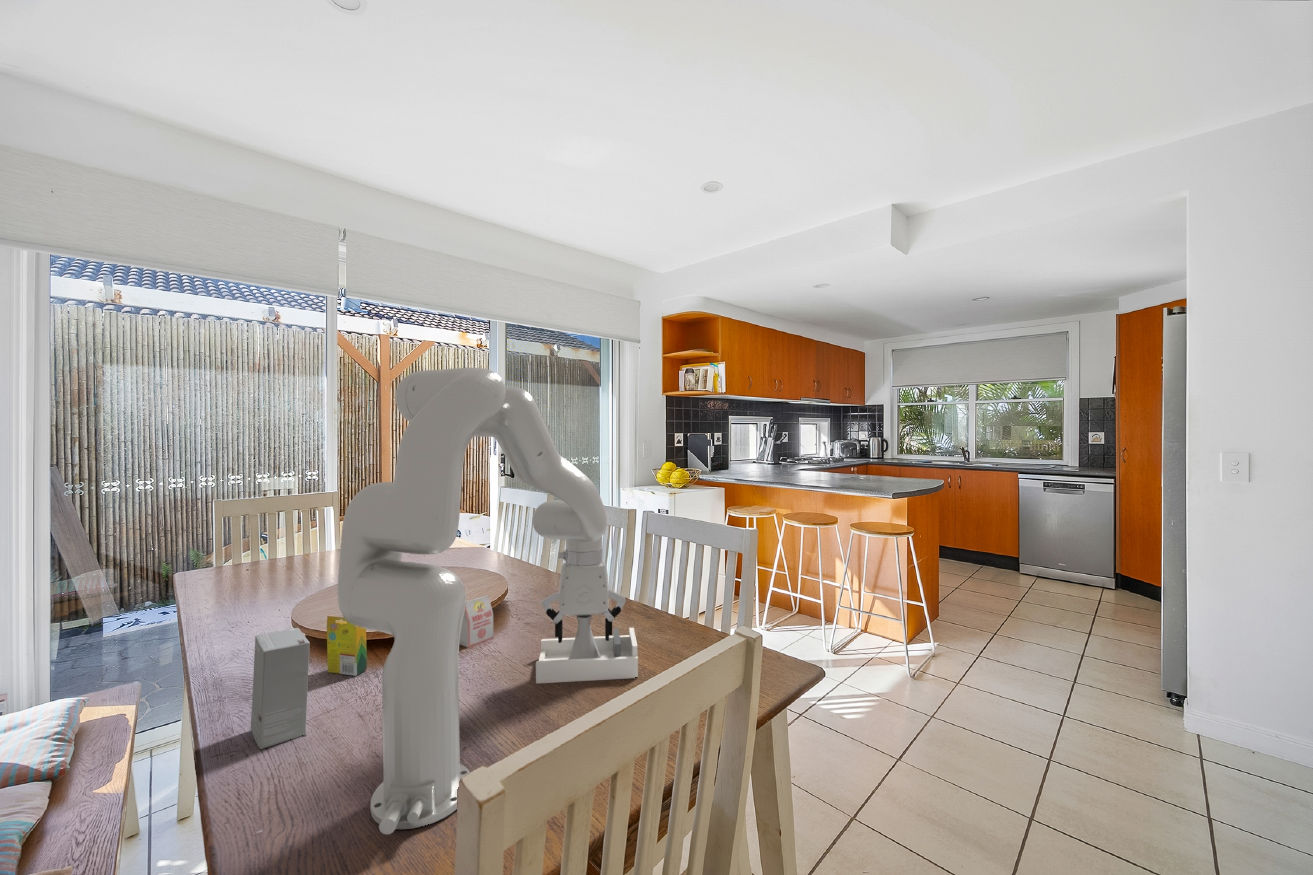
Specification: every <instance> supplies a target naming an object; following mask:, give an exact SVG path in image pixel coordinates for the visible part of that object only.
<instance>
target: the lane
mask: <svg viewBox="0 0 1313 875" xmlns="http://www.w3.org/2000/svg"><path fill="white" fill-rule="evenodd" d="M619 635H620V634H619ZM593 637H594V640H595V643H596V646H597V648H598V651H599V654H600V656H601V658H588V659H568V658H569V655H570V652H571V649H572V647H573V644H574V640H575V637H562V642H561V643H558V637H555V638H542V639H541V641H540V654H539V658H538V660H536V662H535V684H536V685H537V684H551V683H553V684H554V683H571V682H588V681H589V682H590V681H607V680H621V679H622V680H625V679H626V680H627V679H636V678H635V677H638V678H639V656H638V649H639V648H638V643H637V638H636V632H635V627H629V628H628V634H625V635H620V642H621V657H614V655H613V635H609V641H606V640H605V635H603V636H602V635H601V636H599V635H598V636H593Z"/></svg>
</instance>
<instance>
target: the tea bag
mask: <svg viewBox="0 0 1313 875" xmlns="http://www.w3.org/2000/svg"><path fill="white" fill-rule="evenodd" d="M489 639H491V640H493V639H494V612H493V607H492V603H491V599H490V595H488V594H487V595H484V596H483V595H482V596H480V597H477V598H474V599H469V600H466V605H465V611H464V616H463V621H462V626H461V632H460V640H459V645H461V646H463V647H465V648H467V649H468V648H471V647H474V646H477V645H480V644H482V643H485V642H487V641H490V640H489Z"/></svg>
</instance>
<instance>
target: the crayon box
mask: <svg viewBox="0 0 1313 875" xmlns="http://www.w3.org/2000/svg"><path fill="white" fill-rule="evenodd" d="M326 618H327V619H326V645H327V646H326V647H327V648H326V649H327V652H326V653H327V655H326V656H327V673H331V674H340V675H346V676H347V675H348V676H353V677H358V676H359V675H361V674H362V673H364V672H366V671H367V669H368V663H367V655H368V654H367V629H365V628H361V627H358V626H355V625H353V624H351V623H349V622H348V621H347V620H346V619H345V618H344V617H342V616H333V615H332V616H331V615H327V617H326Z"/></svg>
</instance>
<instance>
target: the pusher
mask: <svg viewBox="0 0 1313 875" xmlns="http://www.w3.org/2000/svg"><path fill="white" fill-rule="evenodd" d="M612 636H613V655H614V657H621V642H620V629H619V627H615V628H613V627H612Z"/></svg>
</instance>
